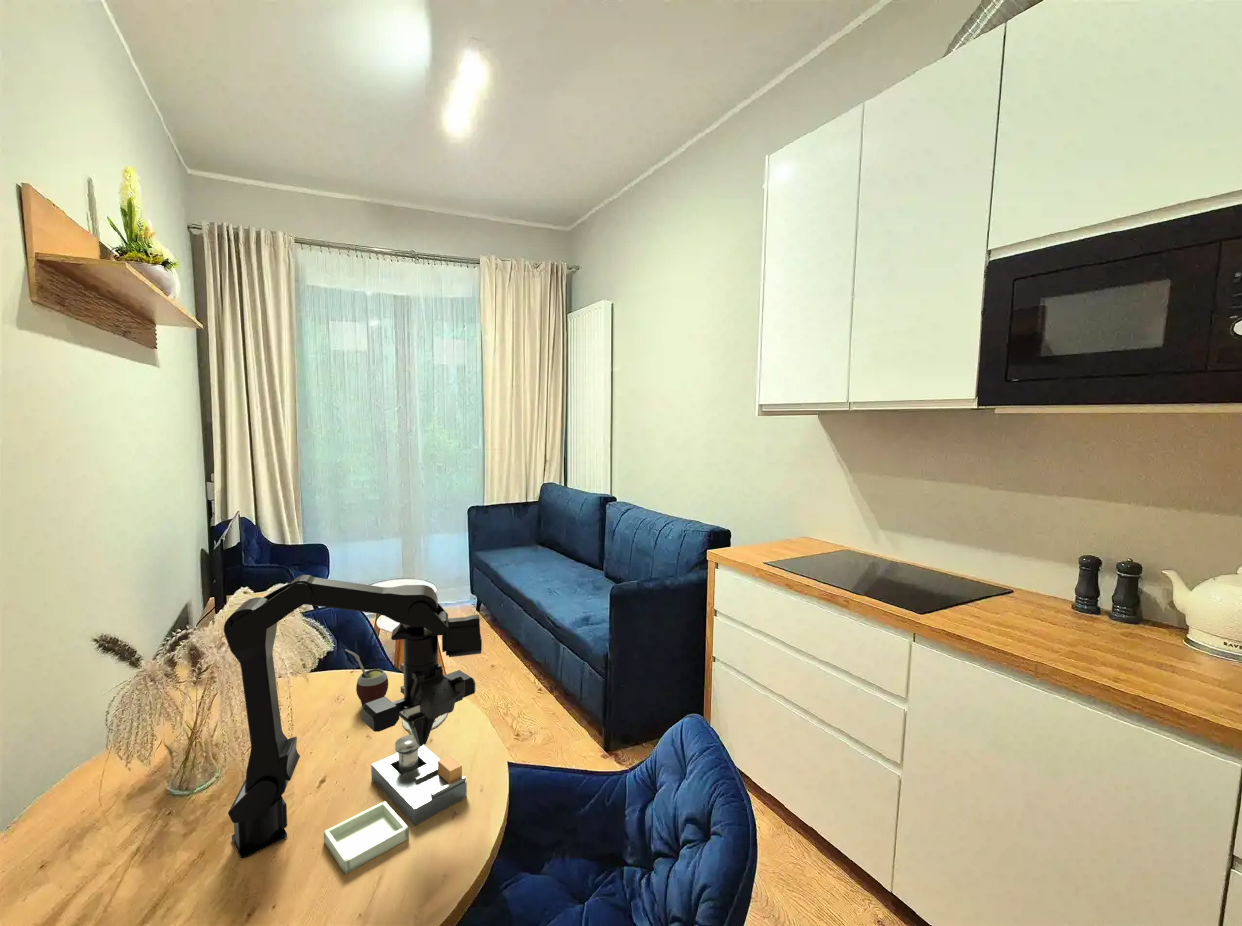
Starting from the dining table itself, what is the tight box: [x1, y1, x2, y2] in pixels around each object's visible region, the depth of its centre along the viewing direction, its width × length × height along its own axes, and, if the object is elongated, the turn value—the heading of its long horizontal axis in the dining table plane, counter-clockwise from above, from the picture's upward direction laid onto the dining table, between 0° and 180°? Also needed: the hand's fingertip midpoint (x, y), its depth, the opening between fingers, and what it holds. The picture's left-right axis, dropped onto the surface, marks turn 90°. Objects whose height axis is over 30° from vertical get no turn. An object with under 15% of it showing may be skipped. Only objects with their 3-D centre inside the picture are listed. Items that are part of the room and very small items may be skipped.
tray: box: [323, 800, 410, 875], centre depth 90 cm, size 10×9×2 cm
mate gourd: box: [344, 649, 389, 708], centre depth 131 cm, size 8×8×15 cm
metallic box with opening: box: [370, 745, 468, 826], centre depth 103 cm, size 10×18×4 cm, turn 47°
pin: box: [394, 734, 420, 776], centre depth 106 cm, size 5×5×8 cm
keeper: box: [438, 754, 463, 783], centre depth 102 cm, size 2×4×2 cm, turn 47°
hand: (421, 744), depth 98 cm, fingers closed
